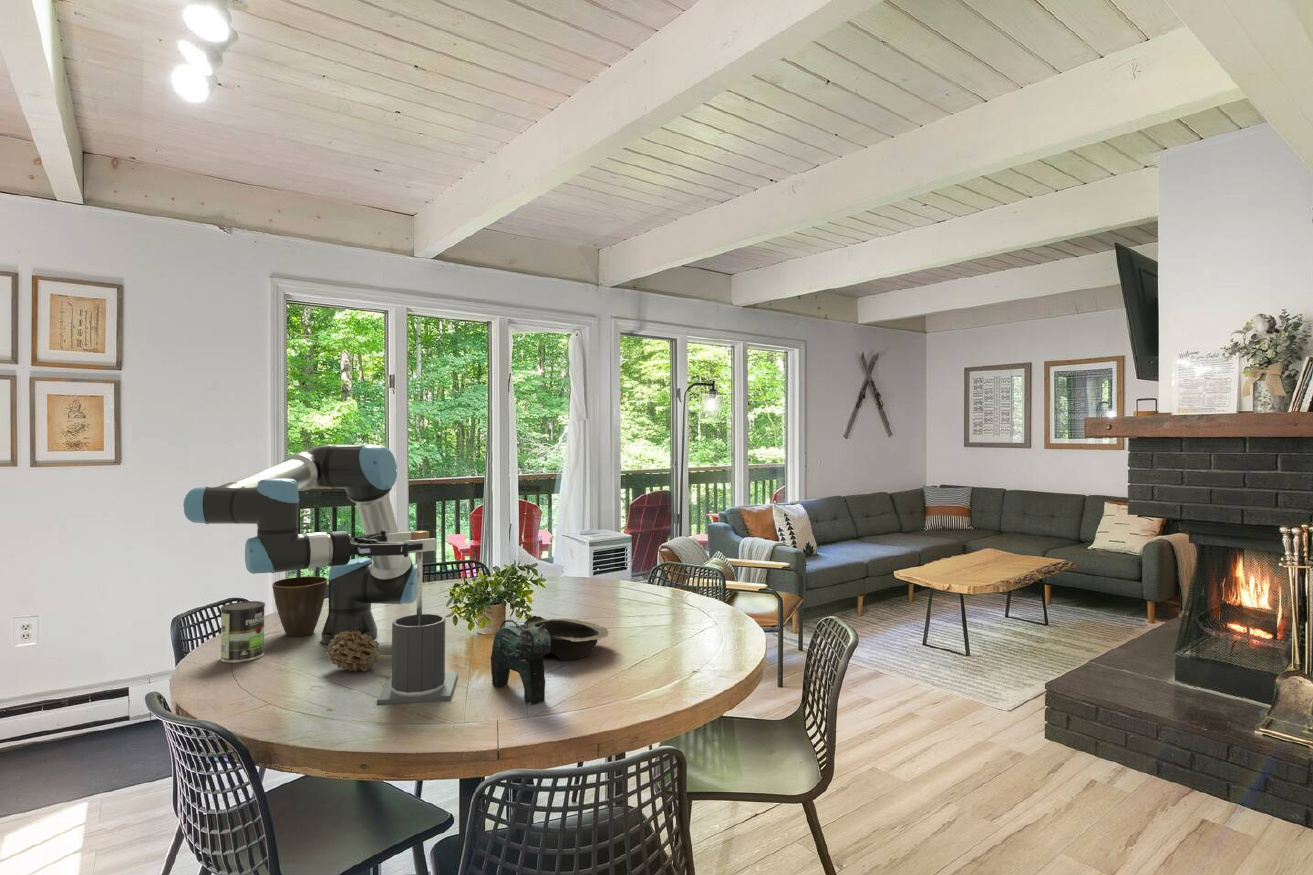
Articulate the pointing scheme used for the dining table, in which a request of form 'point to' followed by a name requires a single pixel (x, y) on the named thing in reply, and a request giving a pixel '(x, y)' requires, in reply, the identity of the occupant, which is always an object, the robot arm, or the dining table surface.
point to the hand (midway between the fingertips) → (424, 540)
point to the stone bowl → (569, 636)
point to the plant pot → (299, 603)
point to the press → (418, 662)
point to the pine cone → (354, 651)
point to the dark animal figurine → (521, 658)
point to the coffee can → (242, 631)
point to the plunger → (419, 573)
